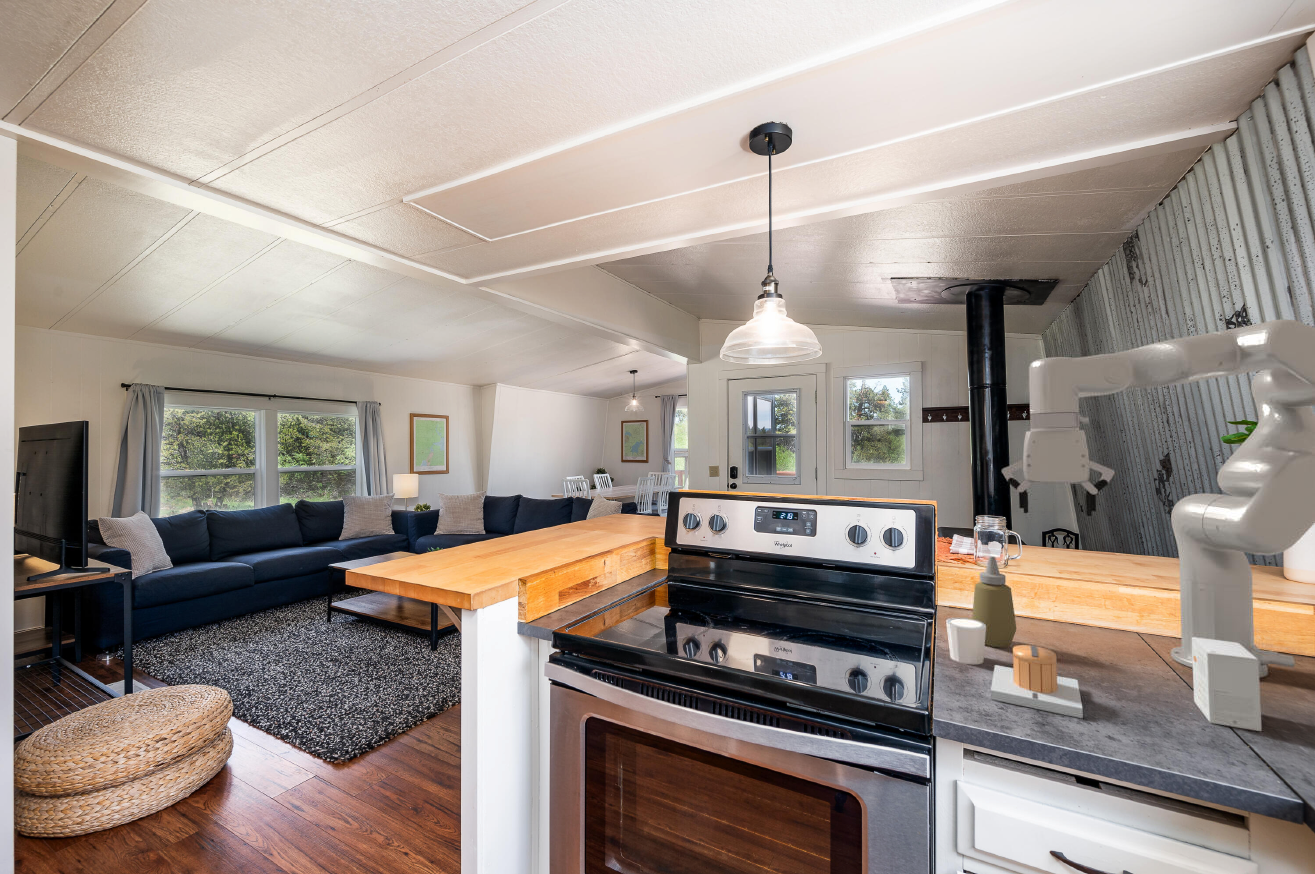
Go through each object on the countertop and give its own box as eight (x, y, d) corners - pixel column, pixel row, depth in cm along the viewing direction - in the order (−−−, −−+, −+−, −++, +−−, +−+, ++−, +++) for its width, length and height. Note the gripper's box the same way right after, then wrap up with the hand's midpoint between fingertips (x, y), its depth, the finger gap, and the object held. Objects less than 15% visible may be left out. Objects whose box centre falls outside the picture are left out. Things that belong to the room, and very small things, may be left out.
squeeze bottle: (1026, 650, 112) (1024, 560, 112) (985, 650, 112) (983, 561, 112) (1001, 636, 120) (999, 552, 120) (964, 636, 120) (962, 553, 120)
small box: (1262, 733, 80) (1260, 659, 80) (1208, 723, 82) (1206, 652, 83) (1241, 709, 86) (1239, 641, 86) (1193, 701, 89) (1191, 635, 89)
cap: (1058, 695, 89) (1057, 660, 89) (1014, 687, 92) (1013, 653, 92) (1055, 681, 94) (1054, 647, 94) (1013, 674, 97) (1012, 641, 97)
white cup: (992, 666, 104) (992, 629, 104) (953, 664, 105) (952, 627, 106) (979, 652, 111) (978, 617, 111) (942, 651, 112) (941, 616, 112)
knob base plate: (1077, 688, 95) (1076, 656, 95) (1082, 718, 85) (1081, 682, 85) (995, 673, 101) (994, 642, 101) (991, 699, 91) (990, 665, 91)
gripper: (1110, 422, 103) (1113, 514, 103) (1001, 425, 113) (1003, 509, 113) (1115, 421, 97) (1118, 519, 97) (999, 424, 107) (1001, 513, 107)
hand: (1056, 513), depth 105 cm, fingers open, 9 cm apart
